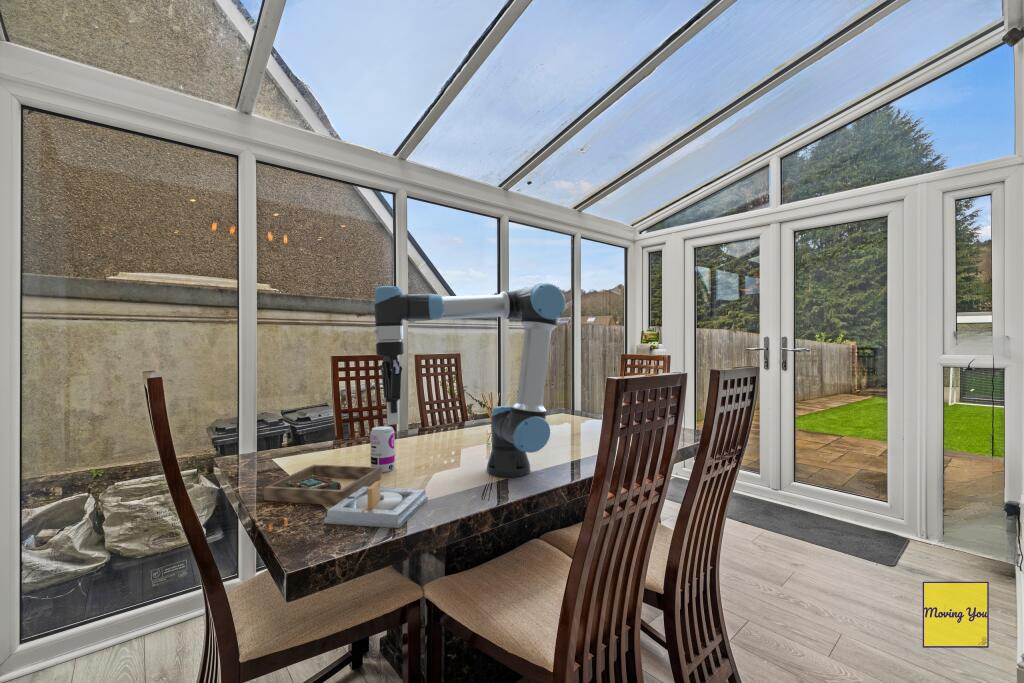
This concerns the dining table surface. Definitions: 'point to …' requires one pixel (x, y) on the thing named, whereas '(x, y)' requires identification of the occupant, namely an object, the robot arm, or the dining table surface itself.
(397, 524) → the dial panel
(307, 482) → the decorative book
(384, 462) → the supplement can
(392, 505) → the dial
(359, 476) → the book tray
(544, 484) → the dining table surface
